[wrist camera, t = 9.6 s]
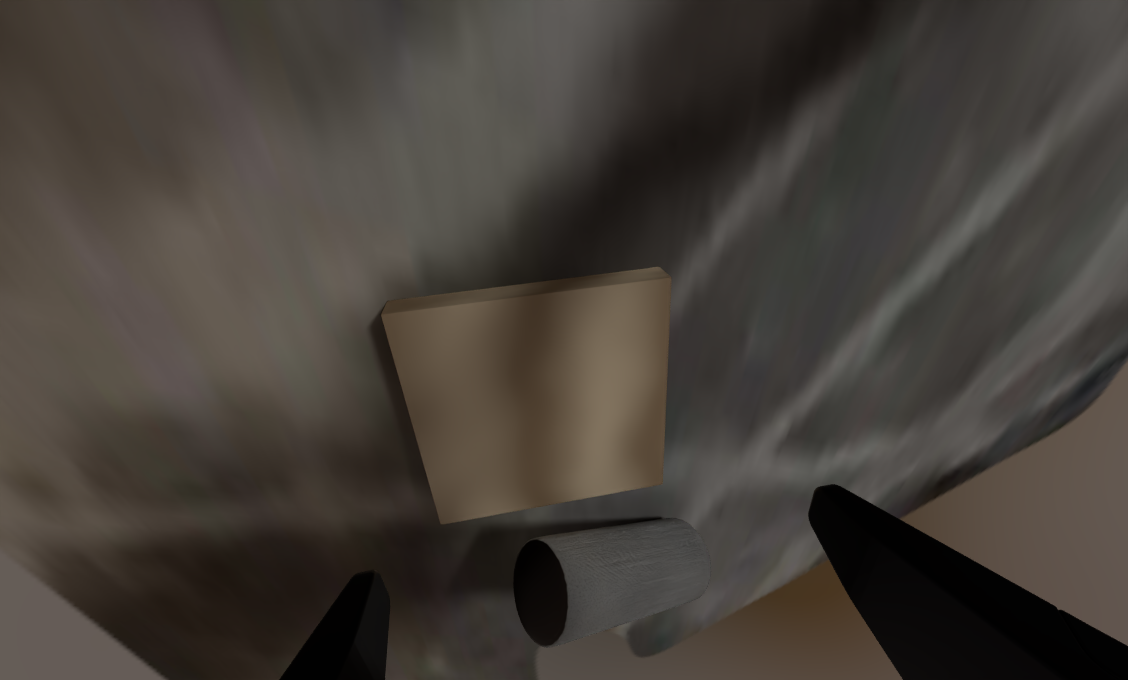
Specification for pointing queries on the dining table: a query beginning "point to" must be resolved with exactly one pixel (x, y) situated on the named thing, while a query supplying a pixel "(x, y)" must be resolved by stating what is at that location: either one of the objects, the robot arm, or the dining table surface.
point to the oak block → (536, 389)
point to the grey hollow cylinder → (607, 577)
